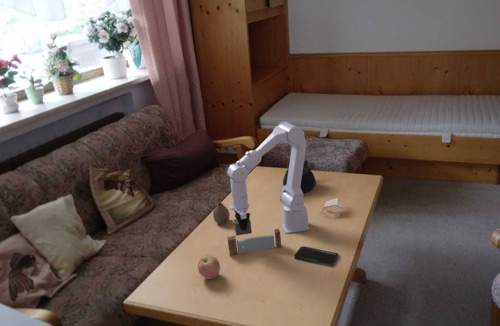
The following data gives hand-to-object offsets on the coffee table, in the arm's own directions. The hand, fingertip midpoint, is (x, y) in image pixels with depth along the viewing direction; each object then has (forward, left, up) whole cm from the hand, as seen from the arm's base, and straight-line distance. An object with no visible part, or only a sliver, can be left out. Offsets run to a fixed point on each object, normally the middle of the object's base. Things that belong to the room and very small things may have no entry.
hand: (243, 226), depth 178 cm
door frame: (-3, +6, -8) cm, 10 cm away
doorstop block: (0, 0, -2) cm, 2 cm away
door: (-4, +7, -7) cm, 10 cm away
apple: (+15, +18, -8) cm, 25 cm away
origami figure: (-41, -13, -8) cm, 44 cm away
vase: (+7, -20, -8) cm, 23 cm away
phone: (-24, +17, -8) cm, 30 cm away
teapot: (-33, -41, -8) cm, 53 cm away
